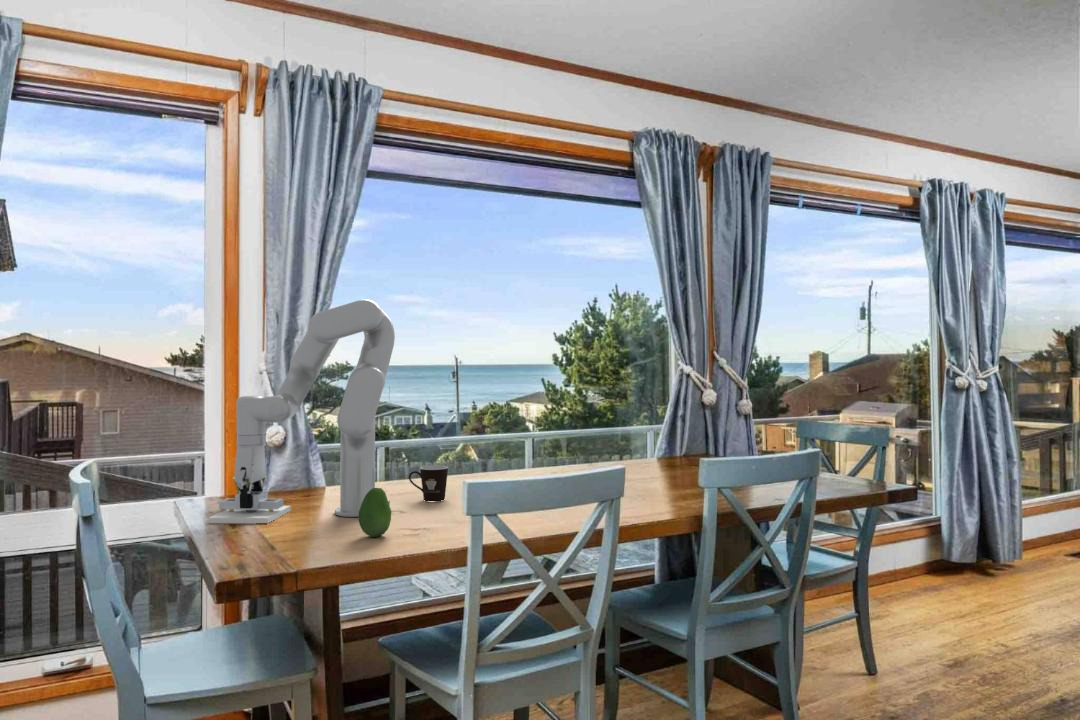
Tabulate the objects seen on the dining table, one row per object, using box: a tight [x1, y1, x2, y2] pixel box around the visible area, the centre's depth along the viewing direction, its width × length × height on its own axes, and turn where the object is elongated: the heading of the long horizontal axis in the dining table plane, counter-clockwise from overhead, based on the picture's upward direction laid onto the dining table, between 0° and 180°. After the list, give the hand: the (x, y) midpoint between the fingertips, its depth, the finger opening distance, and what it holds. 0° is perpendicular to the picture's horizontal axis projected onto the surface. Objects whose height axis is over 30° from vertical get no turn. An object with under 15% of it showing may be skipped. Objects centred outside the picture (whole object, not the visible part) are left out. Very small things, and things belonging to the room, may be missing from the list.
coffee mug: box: [408, 465, 449, 502], centre depth 227 cm, size 12×9×10 cm
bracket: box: [218, 490, 285, 510], centre depth 202 cm, size 16×6×4 cm, turn 88°
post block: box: [208, 494, 292, 524], centre depth 202 cm, size 16×16×6 cm
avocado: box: [358, 487, 392, 538], centre depth 180 cm, size 8×8×12 cm
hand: (251, 504), depth 202 cm, fingers closed on bracket, 6 cm apart
